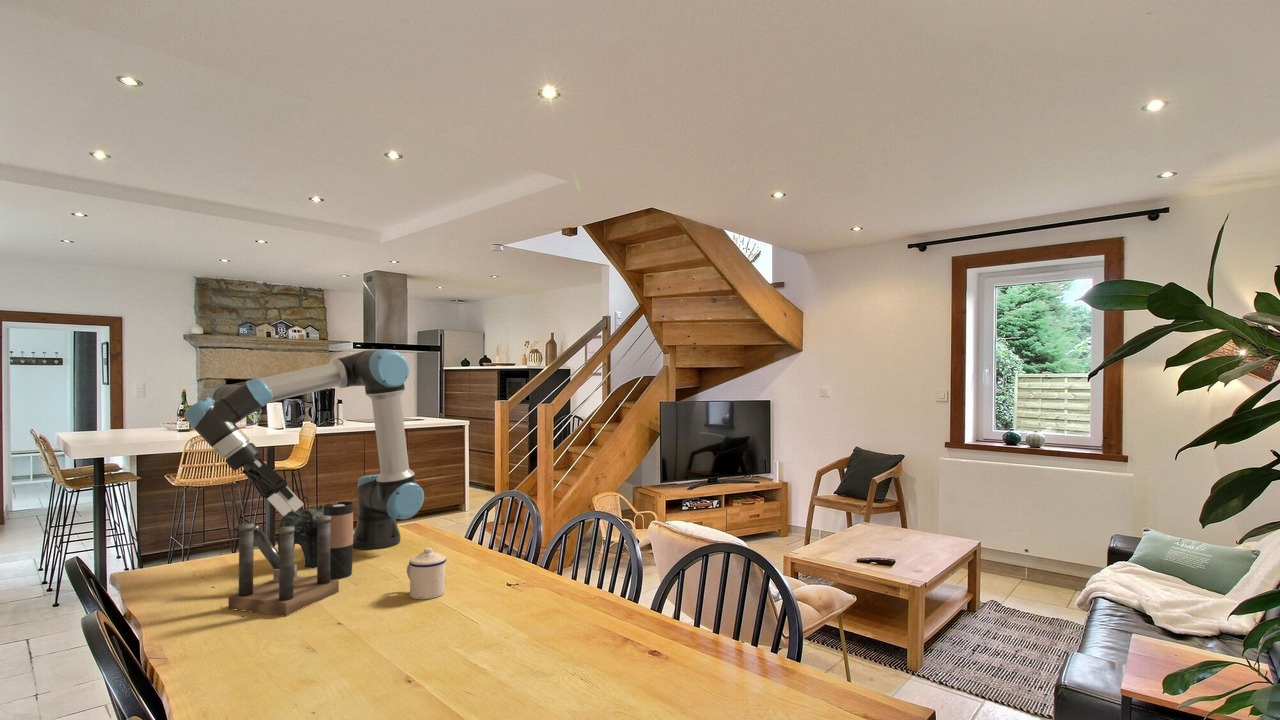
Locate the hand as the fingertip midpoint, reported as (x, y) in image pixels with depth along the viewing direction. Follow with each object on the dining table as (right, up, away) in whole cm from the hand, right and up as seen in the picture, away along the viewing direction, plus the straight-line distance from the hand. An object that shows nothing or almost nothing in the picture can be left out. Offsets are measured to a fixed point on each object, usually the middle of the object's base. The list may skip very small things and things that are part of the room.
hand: (293, 510), depth 170 cm
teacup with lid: (+37, -20, -7) cm, 43 cm away
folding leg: (0, -15, -4) cm, 16 cm away
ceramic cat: (-9, -21, +20) cm, 30 cm away
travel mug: (+8, -20, +8) cm, 23 cm away
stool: (+5, -20, -12) cm, 23 cm away
